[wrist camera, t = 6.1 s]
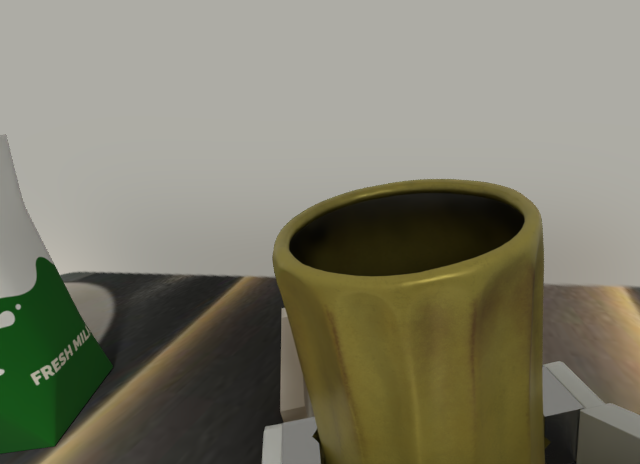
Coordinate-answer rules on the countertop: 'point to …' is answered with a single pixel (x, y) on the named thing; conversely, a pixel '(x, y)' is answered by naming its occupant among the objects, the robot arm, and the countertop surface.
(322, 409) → the vase
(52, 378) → the milk carton
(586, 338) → the countertop surface
